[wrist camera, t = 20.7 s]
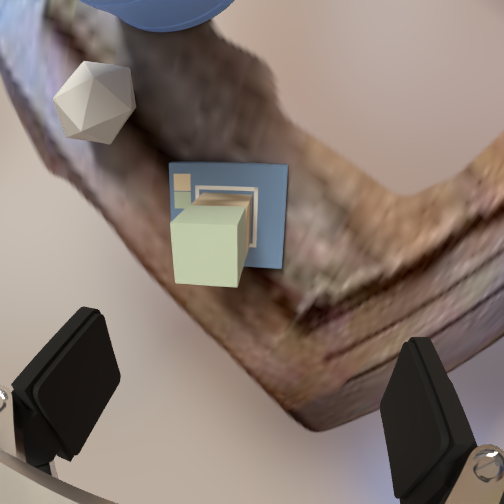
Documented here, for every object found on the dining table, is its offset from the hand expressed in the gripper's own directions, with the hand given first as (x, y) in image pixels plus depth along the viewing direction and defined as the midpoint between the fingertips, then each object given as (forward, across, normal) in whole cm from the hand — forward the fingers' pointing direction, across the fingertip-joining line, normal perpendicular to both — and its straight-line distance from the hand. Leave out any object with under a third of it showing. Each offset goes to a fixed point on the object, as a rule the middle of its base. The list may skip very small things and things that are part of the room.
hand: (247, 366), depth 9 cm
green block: (+19, +5, +3) cm, 20 cm away
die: (+26, +18, -9) cm, 33 cm away
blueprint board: (+26, +6, +3) cm, 26 cm away
